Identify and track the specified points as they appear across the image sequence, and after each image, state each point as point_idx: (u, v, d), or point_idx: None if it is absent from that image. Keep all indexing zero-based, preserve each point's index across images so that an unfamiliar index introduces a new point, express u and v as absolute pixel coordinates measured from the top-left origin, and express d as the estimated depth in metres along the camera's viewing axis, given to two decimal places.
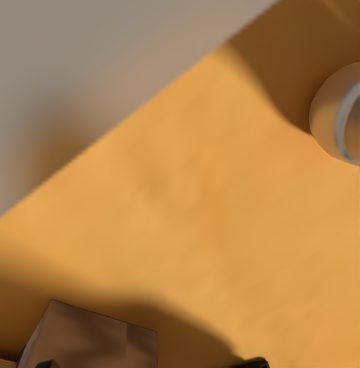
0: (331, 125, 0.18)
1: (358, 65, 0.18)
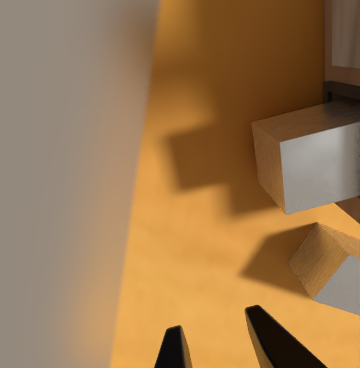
0: None
1: None
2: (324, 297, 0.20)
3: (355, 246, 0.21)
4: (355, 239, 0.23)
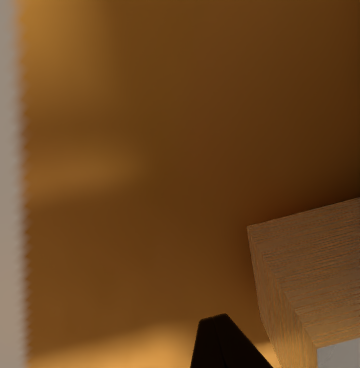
0: None
1: None
2: None
3: None
4: None
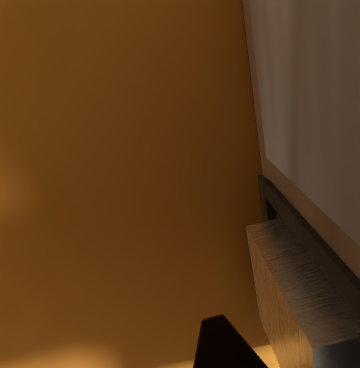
0: None
1: None
2: None
3: None
4: None
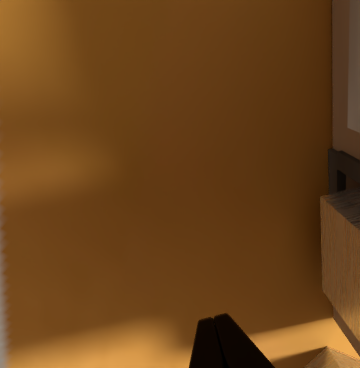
0: None
1: None
2: None
3: None
4: None
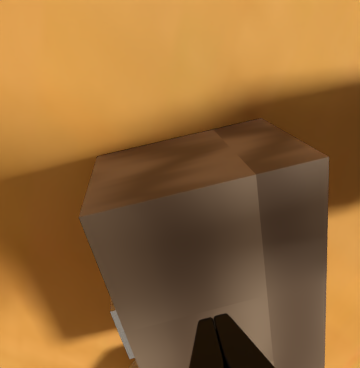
0: None
1: None
2: None
3: None
4: None
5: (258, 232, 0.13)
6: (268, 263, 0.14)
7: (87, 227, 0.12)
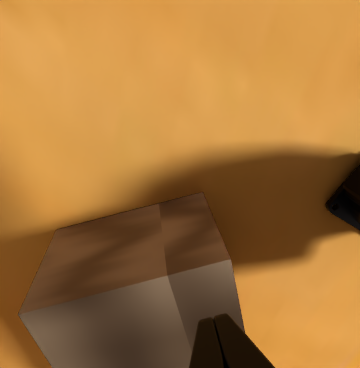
0: None
1: None
2: None
3: None
4: None
5: (178, 317, 0.15)
6: (191, 340, 0.16)
7: (26, 321, 0.14)
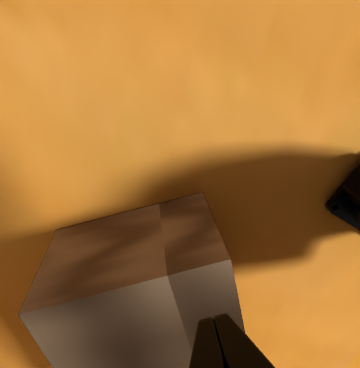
0: None
1: None
2: None
3: None
4: None
5: (178, 317, 0.15)
6: (191, 340, 0.16)
7: (26, 321, 0.14)
